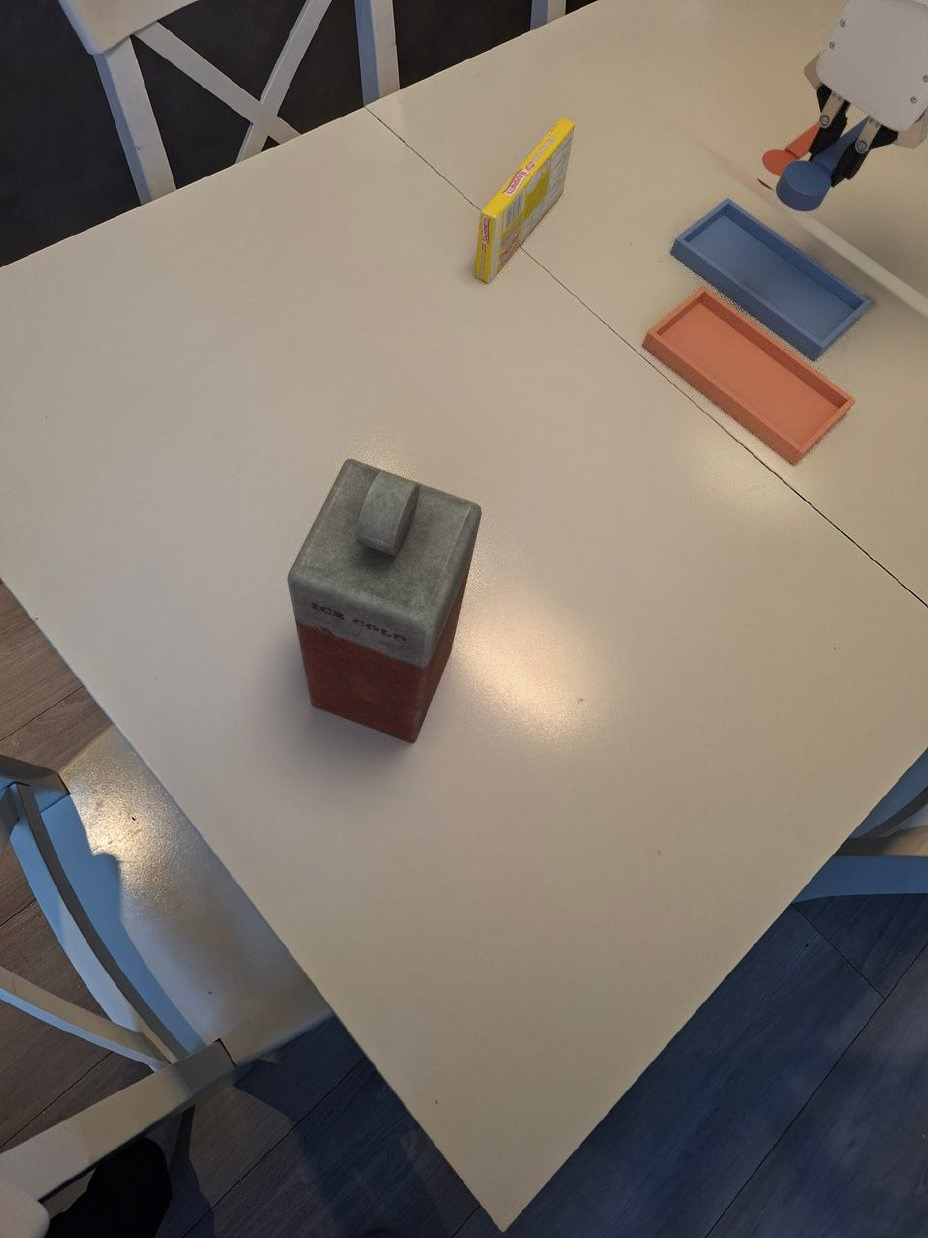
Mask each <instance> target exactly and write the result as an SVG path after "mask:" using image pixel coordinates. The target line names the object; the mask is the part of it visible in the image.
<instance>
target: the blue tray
mask: <svg viewBox="0 0 928 1238" xmlns="http://www.w3.org/2000/svg"><path fill="white" fill-rule="evenodd" d="M669 253H670V254H671V255H672V256H673V257H674V258H675V259H677V260H678V261H680V262H681V263H683V265H685V266H686V267H688V268H689V269H690V270H692V271H693V272H694V273H696V275H699V276H700V277H701V278H702V279H704V280H705V281H706V282H708V283H709V284H710V285H712V286H713V287H715V288H716V289H717V290H719V292H721V293H722V294H724V295H725V296H726V297H727V298H729V299H730V300H732V301H733V302H734V303H736V304H737V305H738V306H740V307H741V308H743V309H744V310H745V311H746V312H747V313H749V314H750V315H752V316H753V317H754V318H755V319H757V320H758V321H760V322H761V323H762V324H764V326H767V327H768V328H769V329H770V330H771V331H773V332H774V333H776V334H777V335H778V336H779V337H781V338H782V339H784V340H785V341H787V343H789V344H790V345H792V346H793V347H794V348H795V349H797V350H798V351H799V352H801V353H802V354H803V355H805V356H806V357H807V358H809V359H810V360H812V361H813V362H816V360H817V359H818V358H819V357H821V356H822V355H823V354H824V353H825V352H826V351H827V350H828V349H829V348H830V347H831V346H832V345H833V344H834V343H835V342H836V341H838V339H840V338H841V337H842V336H843V335H844V334H845V333H846V332H847V331H848V330H849V329H850V328H852V326H853V325H854V324H855V323H856V322H858V321H859V320H860V318H862V317H863V316H864V314H865V313H866V312H867V310H868V309H869V307H871V304H873V301H872V300H870V299H869V298H867V297H866V296H865V295H864V294H863V293H861V292H859V291H858V290H856V288H854V287H852V286H851V285H849V284H848V283H846V282H845V281H844V280H843V279H841V278H840V277H839V276H837V275H836V274H834V273H833V272H831V271H830V270H829V269H827V268H826V267H824V266H823V265H822V264H820V263H819V262H818V261H816V260H814V258H812V257H811V256H809V255H808V254H807V253H805V252H803V250H801V249H799V248H798V247H797V246H796V245H794V244H792V242H790V241H788V240H787V239H786V238H784V237H783V236H781V235H780V234H779V233H778V232H776V231H775V230H773V229H772V228H771V227H769V226H767V225H766V224H764V222H762V220H761V221H760V220H759V219H758V218H757V217H755V216H754V215H752V214H751V213H750V212H748V211H747V210H746V209H745V208H743V207H741V206H740V205H739V204H737V203H736V202H734V201H733V200H731V199H730V198H729V197H727V198H725V199H724V200H723V201H722V202H720V203H719V204H717V205H716V206H715V207H714V208H713V209H712V210H710V211H709V212H707V213H706V214H705V215H703V216H702V217H701V218H700V219H698V220H697V221H696V222H695V223H693V224H691V226H690V227H688V228H687V229H685V230H684V231H683V232H681V234H679V235H678V236H676V237H675V239H674V242H673V244H672V246H671V249H670V251H669Z"/></svg>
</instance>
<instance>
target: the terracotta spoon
mask: <svg viewBox="0 0 928 1238" xmlns="http://www.w3.org/2000/svg"><path fill="white" fill-rule="evenodd" d="M819 128H820V125H819V122H818V121H817V122H816V123H815V124H813V125H812V126H811V127H810V128H808V129H806V131H805V132H803V133H802V134H801V135H799V136H798V137H797V138H795V140H793V141H792V142H790V143H789V144H788V145H787V146H786V147H784V149H776V148H773V149H769V150H767V151H765V152H764V153H763V155H762V157H761V163H762V165H763V166H764V168H765V169H766V170H767V171H768V172H770V173H771V174H772V175H775V176H778V177H781V175H782V173H783V171H784V169H785V167H786V166H787V165H788V164H789V163H791V162H793V161H797V160H801V158H803V157H804V156H805V155H807V154H808V153H809V152H808V150H809V148H810V146H811V144H812V142H813V140H814V138H815V136H816V134H817V132H818V130H819ZM756 179H757V181H758V182H759V183H760V184H761V185H762V186H764V187H765V188H767V189H769V190H773V191H775V189H773V188H772V187H771V186H770V185H768V184H767V183H766V182H765V181H763V180H761V179H760V178H758V177H756Z"/></svg>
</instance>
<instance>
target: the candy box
mask: <svg viewBox="0 0 928 1238" xmlns="http://www.w3.org/2000/svg"><path fill="white" fill-rule="evenodd" d="M575 127H576V123H575V122H574V121H573V120H569V119H566V118H564V117H562V116H561V117H560V118H559V119H558V120H557V122H556V123H555V124H554V125H553V126H552V127H551V129H550V130H549V132H548V133H547V134H546V135H545V136H544V137H543V138H542V140H541V141H540V142H539V143H538V144H537V146H536V147H535V148H534V149H533V150H532V151H531V152H530V153H529V155H528V156H526V158H525V160H523V162H522V163H521V164H520V165H519V166H518V168H517V169H516V170H515V171H514V173H512V175H511V176H510V177H509V178H508V179H507V180H506V182H505V183H504V184H503V185H502V187H501V188H500V189H499V190H498V191H497V193H495V195H494V196H493V197H492V198H491V199H490V200H489V202H488V203H487V204H486V205H485V206H484V208H483V209H481V211H480V218H479V225H478V237H477V248H476V257H475V267H474V268H475V269H474V277H475V278H477V279H479V280H481V281H483V282H485V283H487V284H489V283H491V281H492V280H493V279H494V278H495V277H496V275H497V274H498V273H499V272H500V271H501V269H502V268H503V267H504V266H505V264H506V263H507V262H508V261H509V259H510V258H511V257H512V256H513V255H514V253H515V252H516V251H517V250H518V249H519V247H520V246H521V244H522V243H523V242H524V241H525V240H526V238H527V237H528V236H529V235H530V234H531V232H532V231H533V230H534V228H535V227H536V226H537V224H539V222H540V221H541V220H542V219H543V217H544V216H545V215H546V213H548V211H549V210H550V209H551V207H553V205H554V204H555V203H556V202H557V200H558V199H559V198H560V196H561V195H562V194H563V192H564V189H565V188H564V187H565V183H566V182H565V181H566V176H567V172H568V166H569V160H570V155H571V149H572V143H573V138H574V131H575Z"/></svg>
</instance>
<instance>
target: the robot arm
mask: <svg viewBox="0 0 928 1238" xmlns="http://www.w3.org/2000/svg"><path fill="white" fill-rule="evenodd" d="M803 74H804V75H805V77H806V79H807V80H808V82H809V83H810V85H811V87H812V88H813V90H816V92H815V93H816V95H815V96H816V99H817V103H818V108H819V112H820V115H819V117H818V119H817V120H818V121H817V123H818V122H819V125H820V128H819V130H818V132H817V134H816V136H815V138H814V140H813V142H812V144H811V146H810V148H809V150H808V153H810V156H809V158H808V160H807V161H810V162H812V160H813V158H814V157H815V156H816V155H818V154H819V153H821V152H823V151H824V150H825V149H827V148H828V147H829V146H830V145H832V144H833V143H834V142H836V141H837V140H838V139H839V138H840V137H841V136H843V133H844V131H845V129H846V128H847V125H848V120H849V117H847V115H846V114H847V113H848V111H849V109H850V107H851V105H853V106H855V108H857V109H859V110H860V111H862V112H863V113H864V114H865V115H867V116H870V118H869V119H868V121H867V123H866V125H865V127H864V128H863V130H862V132H861V134H860V136H859V137H858V138H856V140H855V141H854V142H853V143H851V144H850V145H849V146H848V147H847V148H846V149H845V151H844V153H843V155H842V156H841V158H840V160H839V162H838V164H837V167H836V169H835V171H834V172H833V174H832V176H831V187H830V188H832V189H834V188H836V187H837V186H838V185H839V184H840V183H842V182H843V181H844V180H845V179H846V180H848V181H851V180H852V179H853V178H854V177H855V176H856V175H857V174H858V172H859V171H860V169H861V168H862V166H863V164H864V162H865V161H866V159H867V157H868V155H869V154H870V152H871V151H872V150H874V149H879V148H882V147H886V146H890V145H895V146H898V147H902V148H909V149H916V148H918V147H919V146H920V145H922V144H923V143H924V142H925V141H926V140H927V138H928V0H848V1H847V3H846V5H845V6H844V8H843V9H842V11H841V13H840V15H839V16H838V18H837V20H836V22H835V23H834V25H833V27H832V29H831V31H830V33H829V35H828V36H827V39H826V41H825V42H824V45H823V47H822V49H821V51H820V52H819V53H818V54H817V55H816V56H815V57H813V58H812V60H811V61H809V62H808V64H806V65H805V66H804V69H803Z"/></svg>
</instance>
